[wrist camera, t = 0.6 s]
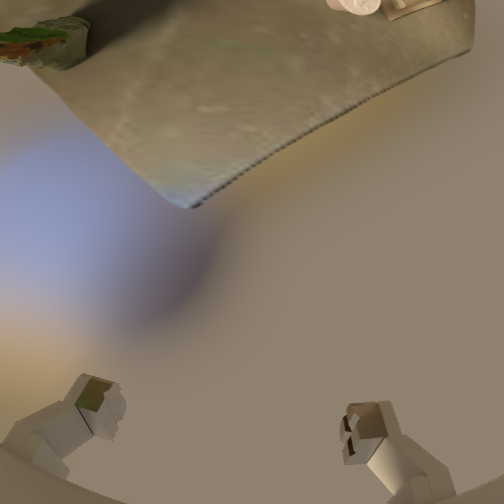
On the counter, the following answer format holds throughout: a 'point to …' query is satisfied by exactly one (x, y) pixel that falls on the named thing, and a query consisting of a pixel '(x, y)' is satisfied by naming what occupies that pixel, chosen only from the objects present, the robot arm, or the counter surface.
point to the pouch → (46, 44)
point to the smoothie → (355, 6)
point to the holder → (403, 7)
